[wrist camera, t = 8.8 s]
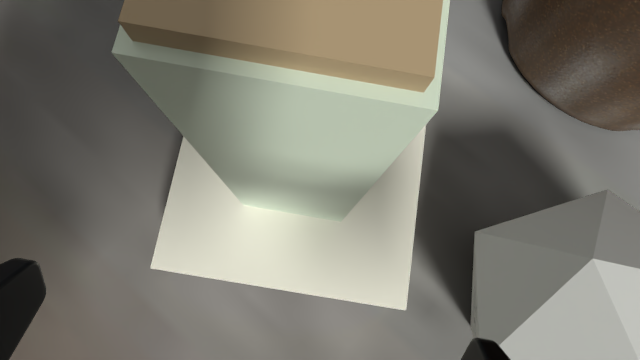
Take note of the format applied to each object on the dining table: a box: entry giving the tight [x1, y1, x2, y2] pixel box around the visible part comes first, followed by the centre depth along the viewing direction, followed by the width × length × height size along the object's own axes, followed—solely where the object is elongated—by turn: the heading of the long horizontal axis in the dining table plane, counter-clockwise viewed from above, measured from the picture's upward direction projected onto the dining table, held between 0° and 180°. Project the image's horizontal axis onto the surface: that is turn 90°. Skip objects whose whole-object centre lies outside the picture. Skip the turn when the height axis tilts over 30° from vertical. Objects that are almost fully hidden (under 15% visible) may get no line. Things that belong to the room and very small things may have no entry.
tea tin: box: [111, 0, 450, 222], centre depth 11 cm, size 4×4×12 cm
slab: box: [150, 125, 426, 310], centre depth 18 cm, size 10×10×3 cm
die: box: [471, 189, 640, 360], centre depth 15 cm, size 8×9×10 cm
